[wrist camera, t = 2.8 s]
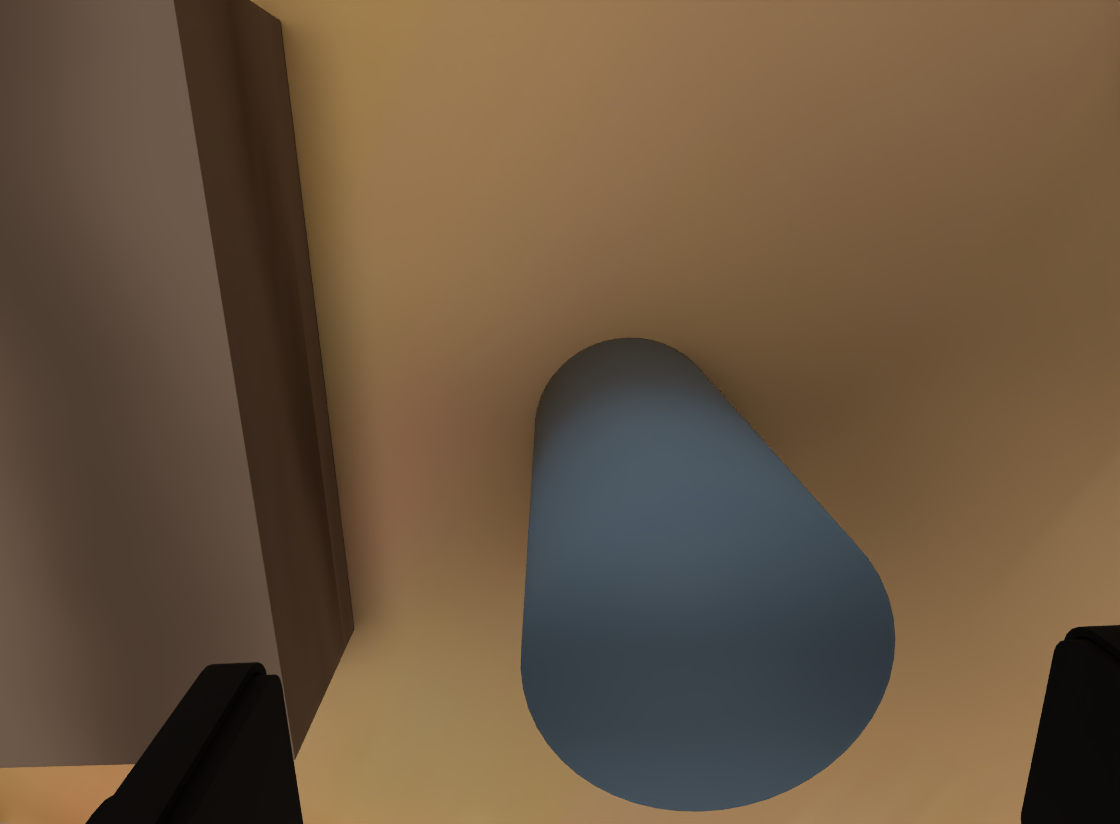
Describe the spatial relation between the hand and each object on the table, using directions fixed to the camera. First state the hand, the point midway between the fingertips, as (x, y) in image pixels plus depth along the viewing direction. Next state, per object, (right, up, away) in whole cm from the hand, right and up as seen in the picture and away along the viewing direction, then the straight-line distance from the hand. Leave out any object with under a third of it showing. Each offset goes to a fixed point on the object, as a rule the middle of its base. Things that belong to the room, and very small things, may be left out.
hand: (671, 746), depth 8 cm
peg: (0, +4, +10) cm, 11 cm away
